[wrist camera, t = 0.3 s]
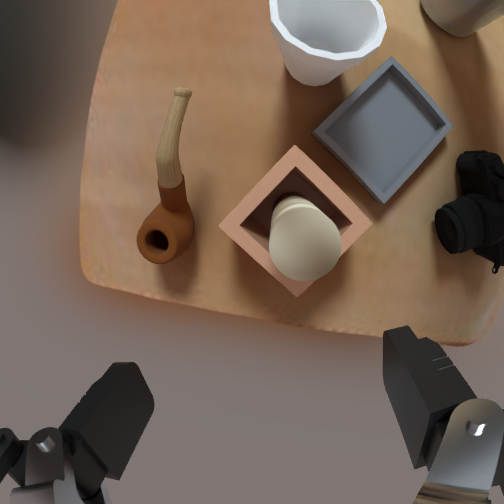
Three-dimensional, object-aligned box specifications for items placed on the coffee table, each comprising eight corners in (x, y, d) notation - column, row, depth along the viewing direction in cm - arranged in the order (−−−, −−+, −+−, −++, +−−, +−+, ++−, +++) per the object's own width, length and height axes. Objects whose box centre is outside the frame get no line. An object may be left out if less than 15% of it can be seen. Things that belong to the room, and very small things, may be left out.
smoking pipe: (200, 242, 37) (158, 235, 37) (208, 86, 27) (158, 86, 28) (180, 275, 31) (132, 265, 31) (182, 87, 21) (122, 89, 22)
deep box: (289, 151, 33) (294, 144, 24) (349, 210, 34) (372, 223, 25) (232, 212, 35) (218, 226, 26) (292, 267, 36) (296, 297, 27)
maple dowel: (291, 184, 33) (305, 194, 17) (319, 211, 33) (355, 245, 18) (264, 212, 34) (253, 247, 18) (292, 239, 34) (305, 294, 19)
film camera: (418, 164, 32) (456, 164, 23) (472, 148, 30) (514, 146, 21) (441, 275, 35) (476, 300, 26) (490, 252, 33) (528, 270, 25)
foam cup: (354, 100, 30) (393, 66, 18) (275, 99, 31) (274, 59, 19) (345, 32, 28) (374, -23, 15) (270, 30, 29) (266, -30, 16)
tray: (384, 62, 29) (391, 55, 26) (443, 127, 30) (453, 125, 27) (311, 133, 32) (313, 131, 29) (377, 201, 33) (384, 204, 31)
